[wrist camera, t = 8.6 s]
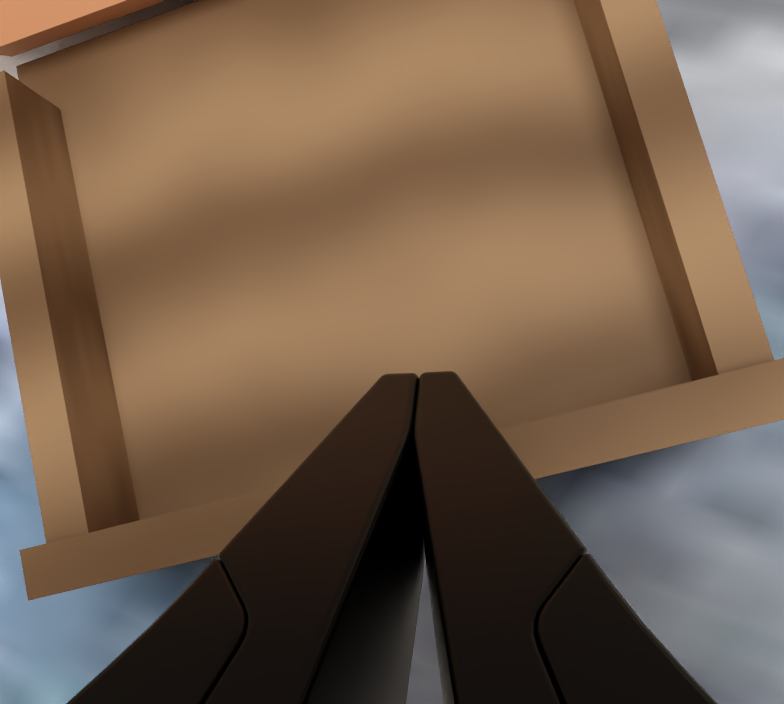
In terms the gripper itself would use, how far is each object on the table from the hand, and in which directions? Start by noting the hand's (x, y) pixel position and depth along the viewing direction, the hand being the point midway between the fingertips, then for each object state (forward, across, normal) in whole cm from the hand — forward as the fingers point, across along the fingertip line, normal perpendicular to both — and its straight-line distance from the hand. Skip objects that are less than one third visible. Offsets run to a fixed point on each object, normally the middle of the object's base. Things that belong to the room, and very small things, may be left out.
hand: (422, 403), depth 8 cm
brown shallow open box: (+14, +3, +4) cm, 15 cm away
